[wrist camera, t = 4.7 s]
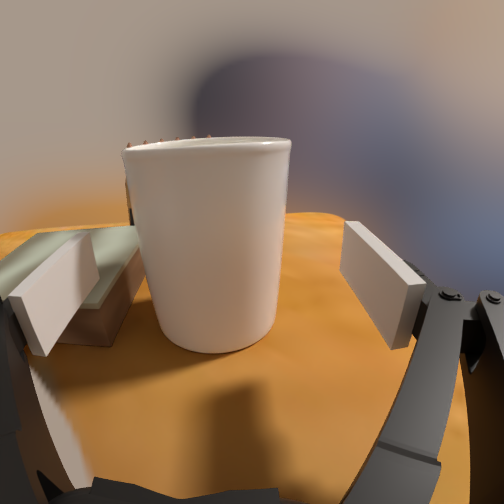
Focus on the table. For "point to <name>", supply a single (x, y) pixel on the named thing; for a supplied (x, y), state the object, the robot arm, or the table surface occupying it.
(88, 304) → the stand
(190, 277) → the white cup
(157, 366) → the table surface
